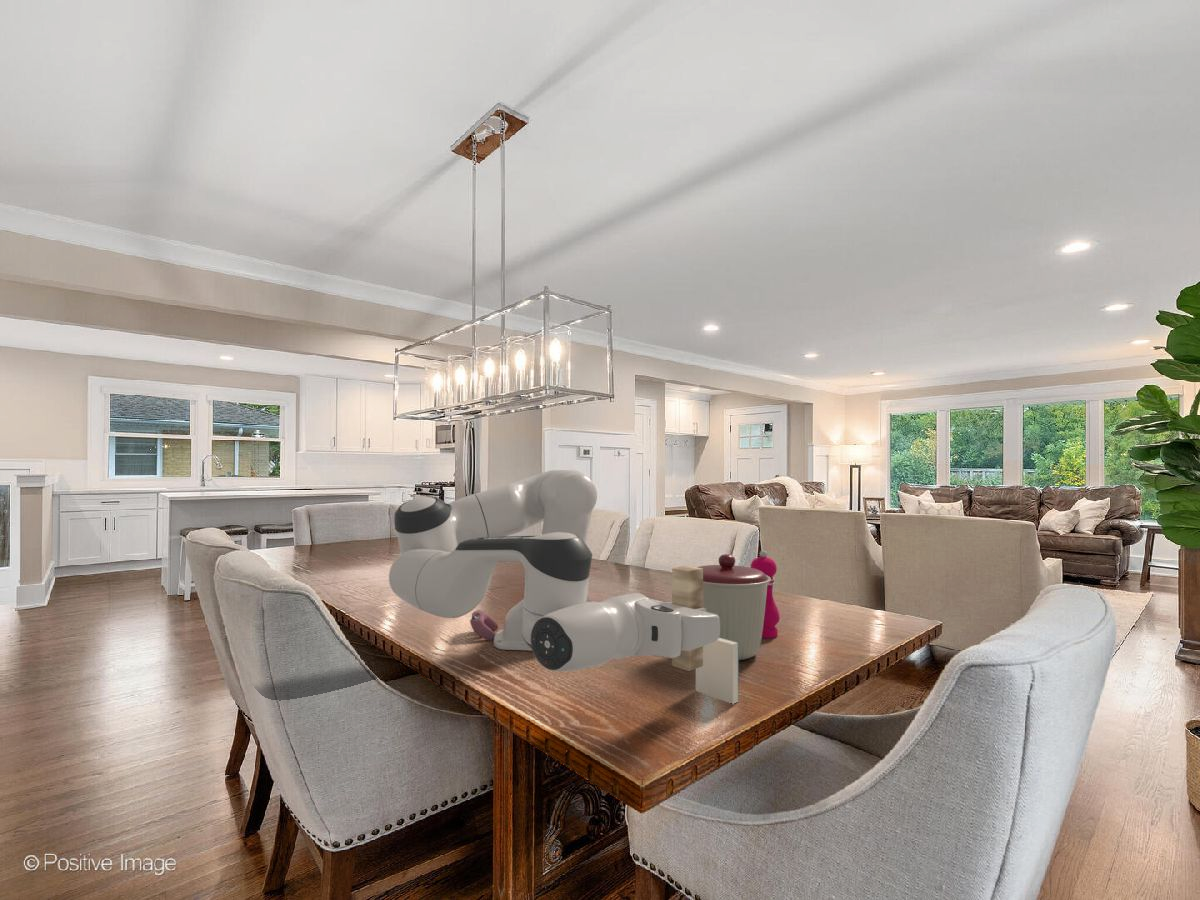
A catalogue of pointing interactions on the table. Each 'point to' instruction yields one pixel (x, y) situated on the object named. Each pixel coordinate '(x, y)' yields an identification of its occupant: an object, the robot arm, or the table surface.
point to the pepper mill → (768, 595)
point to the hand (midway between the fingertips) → (691, 609)
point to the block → (688, 595)
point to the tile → (719, 671)
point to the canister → (736, 602)
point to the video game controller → (483, 625)
